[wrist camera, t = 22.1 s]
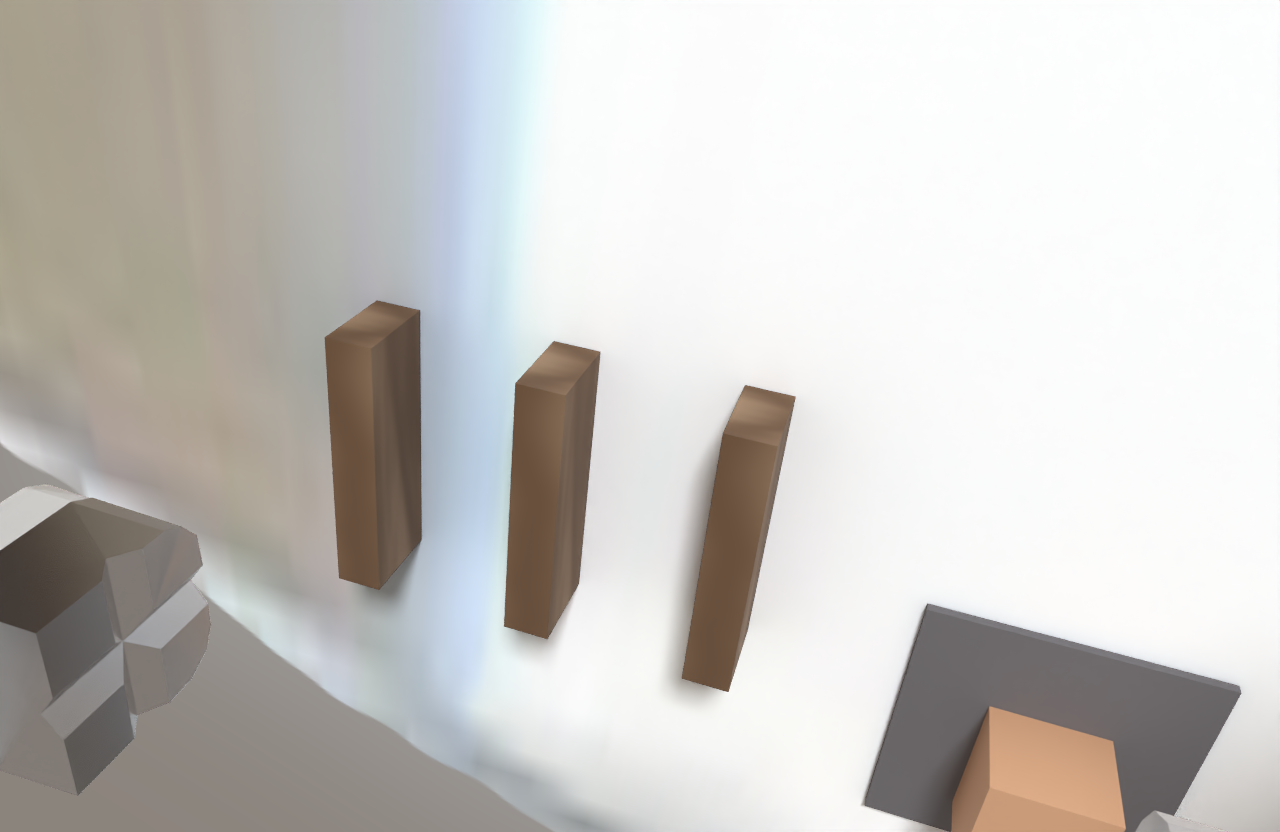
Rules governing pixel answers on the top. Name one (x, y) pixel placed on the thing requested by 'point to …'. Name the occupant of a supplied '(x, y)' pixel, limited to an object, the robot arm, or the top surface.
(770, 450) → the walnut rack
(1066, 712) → the charcoal mat
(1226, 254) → the top surface
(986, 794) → the terracotta block
